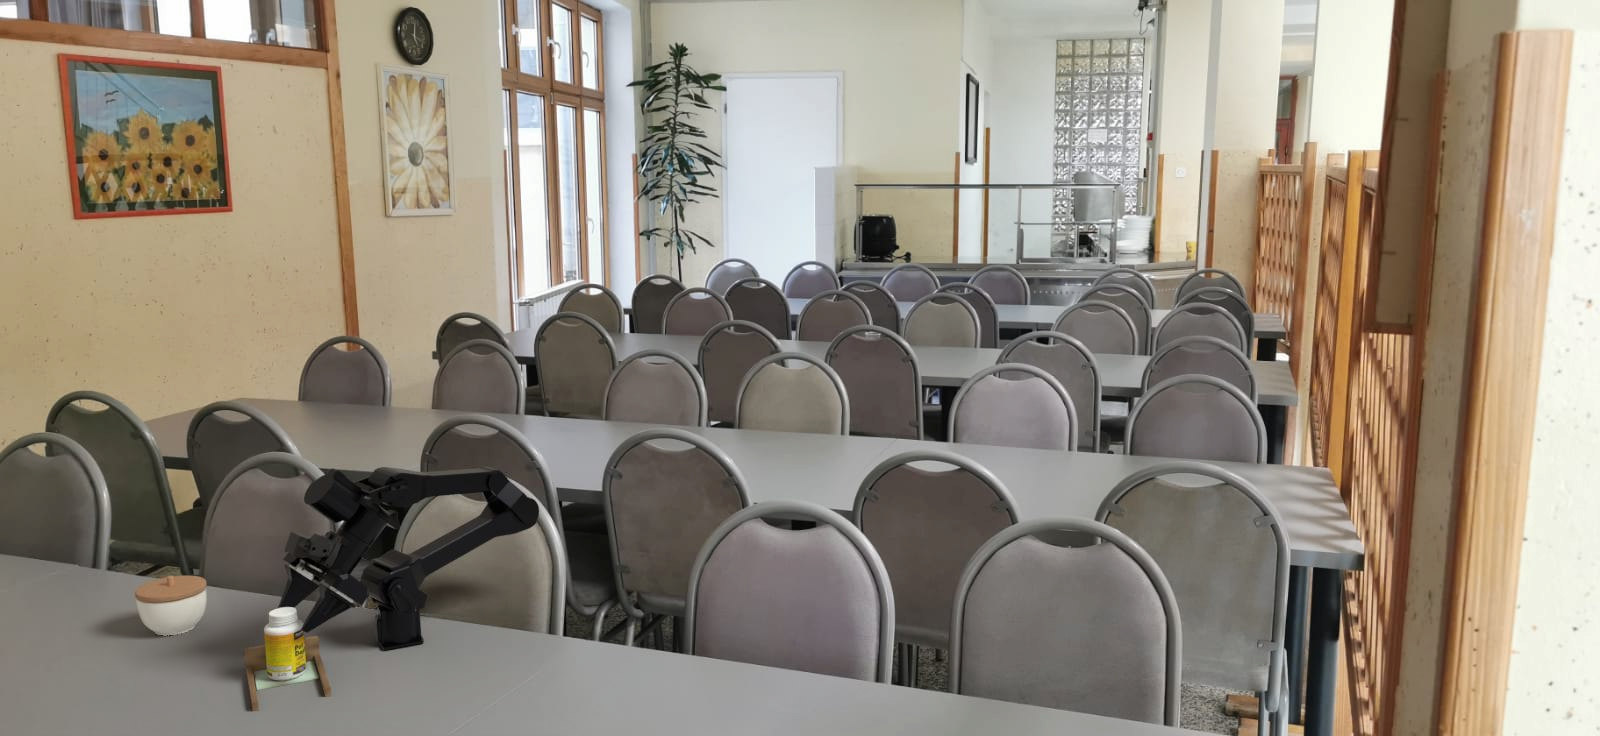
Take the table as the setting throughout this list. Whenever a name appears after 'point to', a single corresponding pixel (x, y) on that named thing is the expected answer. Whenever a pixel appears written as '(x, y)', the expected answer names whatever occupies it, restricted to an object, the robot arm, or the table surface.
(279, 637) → the supplement bottle
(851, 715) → the table surface
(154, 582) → the lidded jar
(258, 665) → the bay
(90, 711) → the table surface
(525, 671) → the table surface
